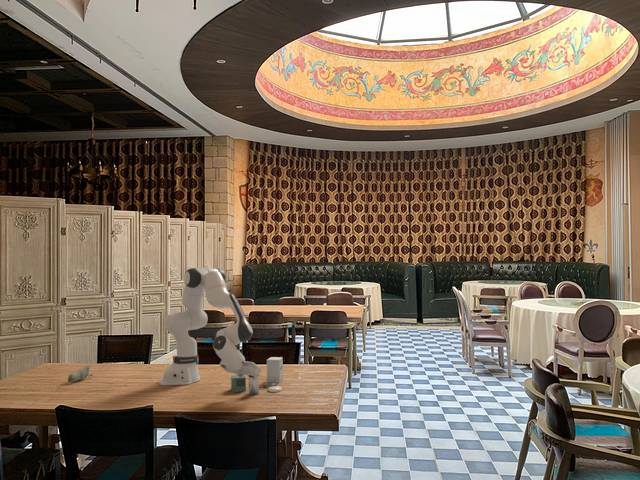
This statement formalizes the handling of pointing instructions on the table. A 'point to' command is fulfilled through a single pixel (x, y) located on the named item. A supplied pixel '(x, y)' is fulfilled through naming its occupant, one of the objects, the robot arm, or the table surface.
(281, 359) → the supplement box
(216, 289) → the robot arm
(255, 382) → the grey-lidded jar
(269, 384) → the disc
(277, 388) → the cream dome cap
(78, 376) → the decorative bird
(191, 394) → the table surface
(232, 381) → the block
